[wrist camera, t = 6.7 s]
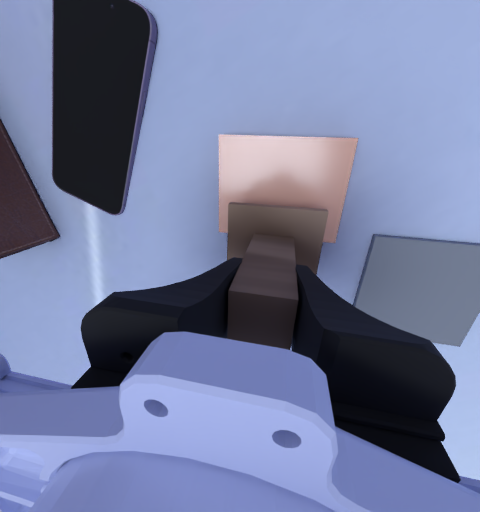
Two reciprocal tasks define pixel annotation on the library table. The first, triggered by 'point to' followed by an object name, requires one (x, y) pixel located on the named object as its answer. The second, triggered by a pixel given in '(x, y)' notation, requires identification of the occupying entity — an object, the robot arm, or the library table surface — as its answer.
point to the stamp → (269, 268)
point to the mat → (422, 286)
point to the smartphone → (99, 96)
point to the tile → (286, 174)
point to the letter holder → (19, 205)
